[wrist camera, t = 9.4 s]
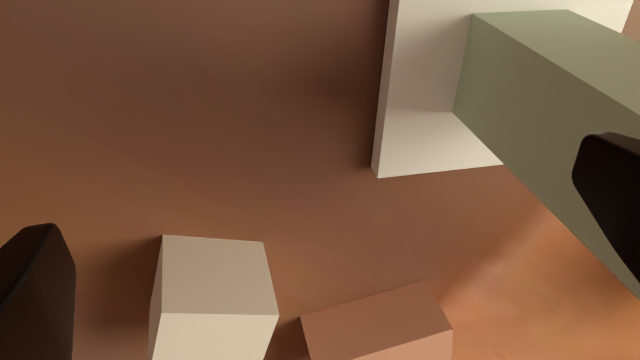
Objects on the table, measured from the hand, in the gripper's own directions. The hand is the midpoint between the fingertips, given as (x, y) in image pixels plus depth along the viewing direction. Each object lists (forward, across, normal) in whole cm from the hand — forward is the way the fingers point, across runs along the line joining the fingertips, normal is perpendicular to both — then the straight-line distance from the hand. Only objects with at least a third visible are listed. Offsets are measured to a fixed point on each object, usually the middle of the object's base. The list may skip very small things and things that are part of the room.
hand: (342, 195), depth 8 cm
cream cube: (+13, +4, +14) cm, 20 cm away
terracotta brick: (+13, -5, +20) cm, 25 cm away
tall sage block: (+12, -11, +4) cm, 17 cm away
